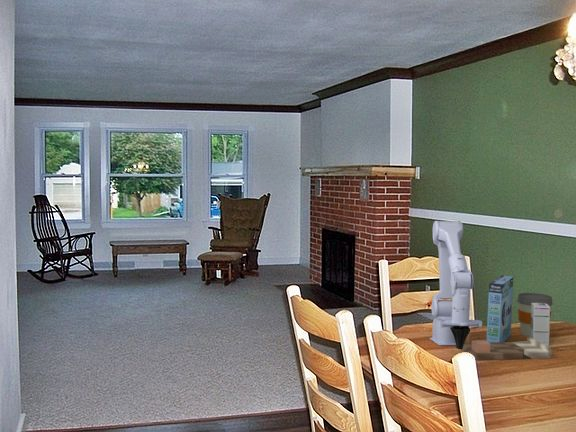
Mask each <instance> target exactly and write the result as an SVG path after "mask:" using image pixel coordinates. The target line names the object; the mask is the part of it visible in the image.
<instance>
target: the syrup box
mask: <svg viewBox="0 0 576 432" xmlns="http://www.w3.org/2000/svg"><path fill="white" fill-rule="evenodd" d="M550 311H551V310H550V306H549V305H548V304H546V303H531V332H530V338H532V339H534V340H536V341H538V342H540V343H542V344H544V345H546V346H548V347H550V330H551V329H550V326H551V325H550V323H551V317H550Z"/></svg>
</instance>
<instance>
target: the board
mask: <svg viewBox="0 0 576 432" xmlns="http://www.w3.org/2000/svg"><path fill="white" fill-rule="evenodd" d="M526 337H527V338H526V341H505V342H489V343H490V353H477V352H475V351H474V350H472V349H471V348H472V342H464V345H463V349H460V350H461V351H462V352H463V353H465V352H469V353H471V354H473V355H474V356H475V358H476V359H475V360H476V361H504V360H505V361H506V360H510V361H511V360H541V359H542V360H543V359H552V347H550V346H546V345H544V344H542V343H540V342H538V341H536V340H534V339H532V338H530V337H529V336H526Z"/></svg>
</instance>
